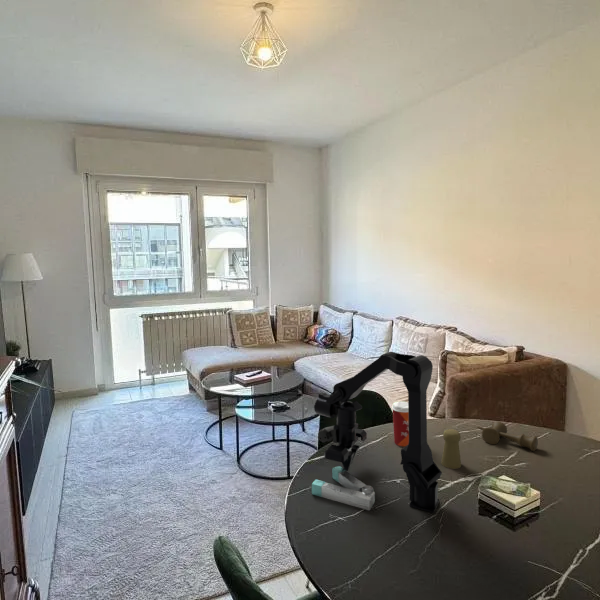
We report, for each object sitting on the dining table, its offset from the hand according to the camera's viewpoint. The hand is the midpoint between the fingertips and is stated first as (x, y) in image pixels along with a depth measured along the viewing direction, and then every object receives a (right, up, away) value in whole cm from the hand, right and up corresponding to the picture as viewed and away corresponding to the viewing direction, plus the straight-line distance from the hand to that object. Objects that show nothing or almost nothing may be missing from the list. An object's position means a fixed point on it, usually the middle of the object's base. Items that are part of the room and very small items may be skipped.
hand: (346, 470), depth 136 cm
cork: (+34, 0, +5) cm, 34 cm away
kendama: (+58, +2, +20) cm, 61 cm away
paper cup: (+22, +2, +21) cm, 30 cm away
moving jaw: (0, -2, -7) cm, 7 cm away
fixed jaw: (-2, -2, -13) cm, 13 cm away
